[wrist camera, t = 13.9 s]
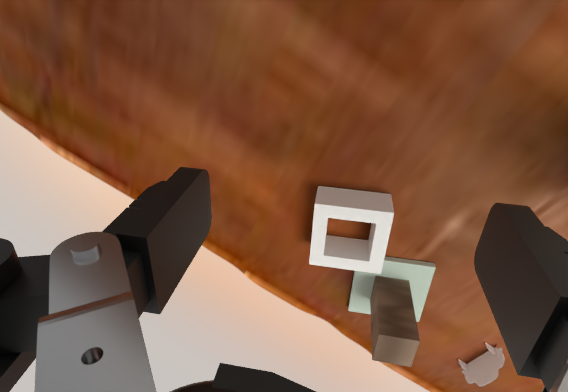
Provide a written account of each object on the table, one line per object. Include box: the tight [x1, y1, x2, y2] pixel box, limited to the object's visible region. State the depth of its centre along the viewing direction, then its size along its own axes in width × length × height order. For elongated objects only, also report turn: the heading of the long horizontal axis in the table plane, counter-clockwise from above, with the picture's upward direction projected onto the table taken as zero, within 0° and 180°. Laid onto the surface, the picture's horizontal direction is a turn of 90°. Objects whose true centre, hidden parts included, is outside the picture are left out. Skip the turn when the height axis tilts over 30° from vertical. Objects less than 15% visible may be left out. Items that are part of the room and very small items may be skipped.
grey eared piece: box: [458, 342, 505, 387], centre depth 47 cm, size 15×7×4 cm, turn 147°
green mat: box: [348, 256, 436, 322], centre depth 47 cm, size 9×9×1 cm
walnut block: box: [370, 276, 420, 367], centre depth 43 cm, size 4×4×9 cm
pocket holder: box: [309, 186, 394, 274], centre depth 42 cm, size 8×8×4 cm
